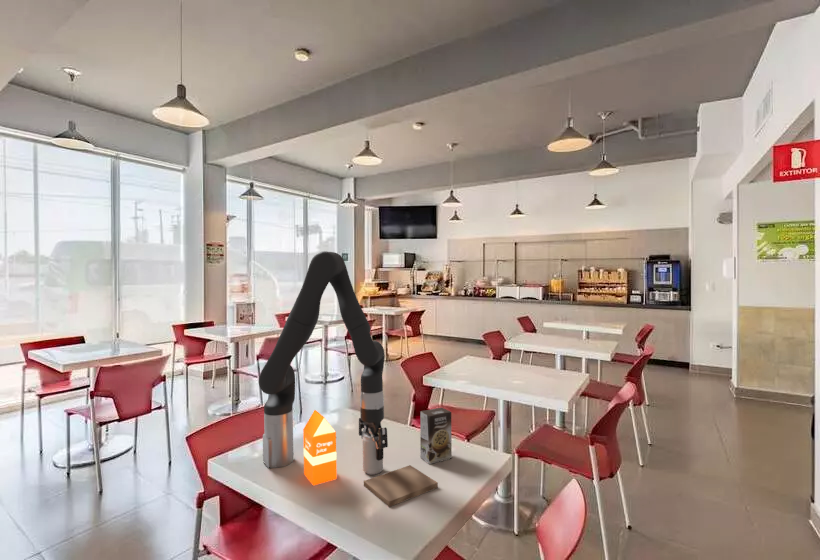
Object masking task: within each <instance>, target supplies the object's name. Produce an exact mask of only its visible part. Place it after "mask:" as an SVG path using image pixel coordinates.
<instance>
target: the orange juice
mask: <svg viewBox="0 0 820 560" xmlns="http://www.w3.org/2000/svg"><path fill="white" fill-rule="evenodd" d="M302 429H303V430H302V431H303V433H302V434H303V475H304V476H305V478H306V479H307V481H309V482H310V483H311V485H312V486H317V485H320V484H325V483H326V482H331V481H334V480H337V475H338V471H337V432H336V430H335V429H334V428H333V427H332V425H331V424H330V422H328V419H326V418H325V416H323V415H322V414H321V413H320V412H318V411H317V410H316V409H314V410H313V412H312V414H311V415H310V417H309V419H308V420H307V422H306V423H305V426H304V427H303V428H302Z"/></svg>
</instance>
